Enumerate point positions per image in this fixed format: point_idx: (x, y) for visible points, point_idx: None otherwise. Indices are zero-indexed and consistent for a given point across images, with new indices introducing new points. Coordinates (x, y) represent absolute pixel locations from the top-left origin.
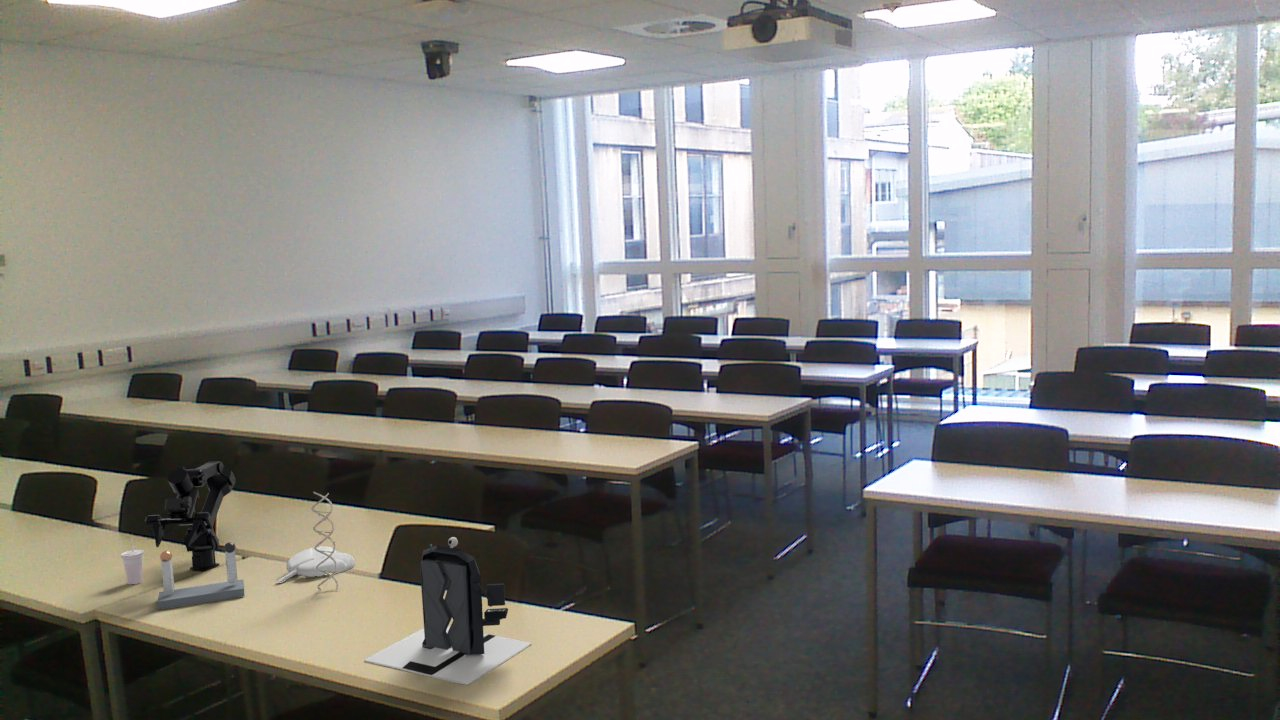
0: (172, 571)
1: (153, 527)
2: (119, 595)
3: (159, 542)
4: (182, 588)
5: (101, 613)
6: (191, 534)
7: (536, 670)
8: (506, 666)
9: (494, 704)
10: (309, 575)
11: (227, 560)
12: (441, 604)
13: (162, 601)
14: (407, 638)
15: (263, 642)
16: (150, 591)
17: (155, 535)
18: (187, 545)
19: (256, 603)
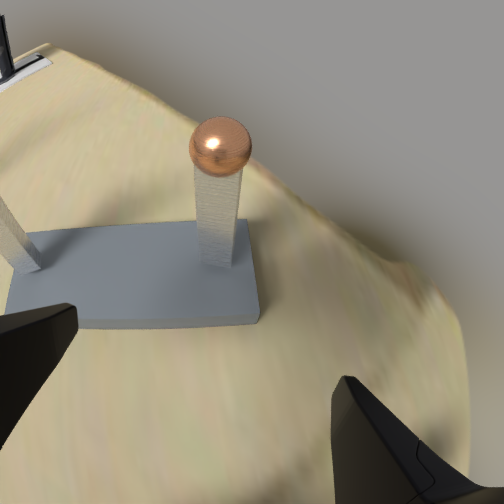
0: (197, 211)
1: (494, 490)
2: (401, 417)
3: (339, 430)
4: (178, 318)
5: (390, 271)
6: (3, 322)
7: None
8: None
9: (44, 44)
10: None
11: (3, 202)
12: (6, 41)
13: None
14: (9, 84)
15: (93, 83)
16: (313, 436)
17: (412, 438)
18: None
19: (34, 195)
